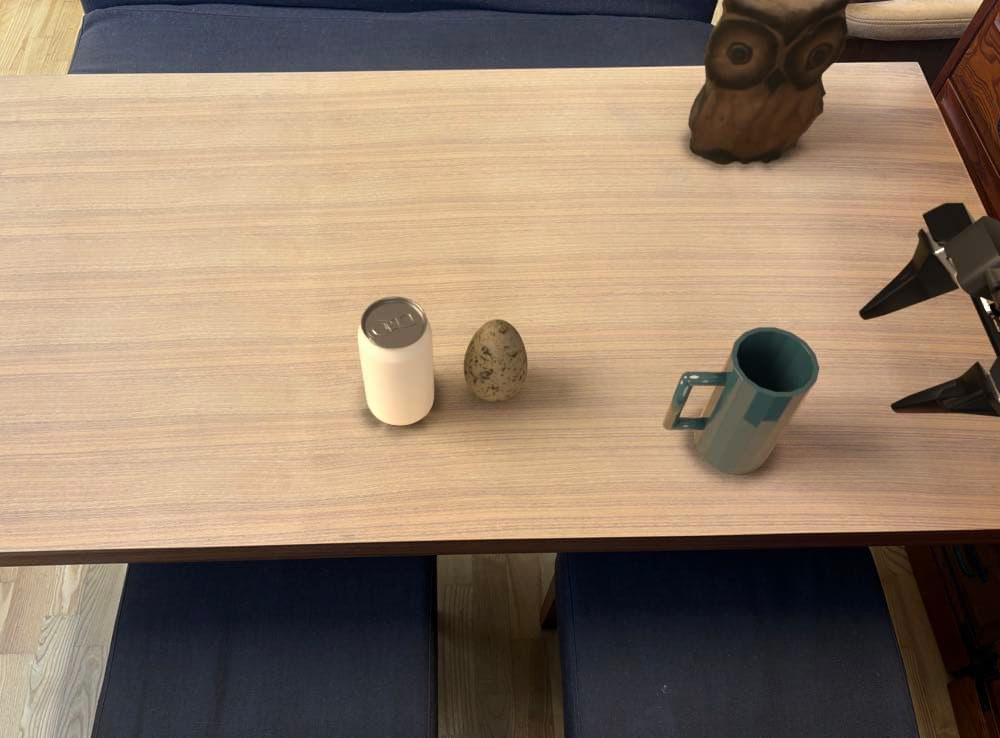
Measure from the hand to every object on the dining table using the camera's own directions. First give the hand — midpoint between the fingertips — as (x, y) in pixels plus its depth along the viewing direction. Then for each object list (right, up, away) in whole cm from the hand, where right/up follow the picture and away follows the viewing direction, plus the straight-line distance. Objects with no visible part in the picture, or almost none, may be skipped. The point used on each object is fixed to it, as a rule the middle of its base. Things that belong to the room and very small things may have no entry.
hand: (876, 361), depth 68 cm
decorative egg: (-30, -2, +15) cm, 34 cm away
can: (-39, -3, +14) cm, 42 cm away
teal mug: (-10, -7, +11) cm, 17 cm away
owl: (+1, +29, +35) cm, 46 cm away
